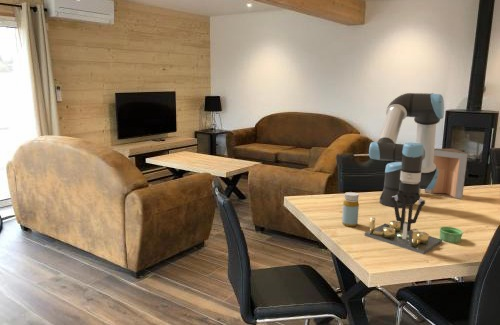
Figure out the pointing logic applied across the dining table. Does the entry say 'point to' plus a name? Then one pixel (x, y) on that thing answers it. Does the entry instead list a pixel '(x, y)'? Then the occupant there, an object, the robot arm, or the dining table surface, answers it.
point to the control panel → (405, 240)
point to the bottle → (350, 209)
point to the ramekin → (450, 234)
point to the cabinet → (449, 173)
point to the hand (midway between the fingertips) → (404, 237)
